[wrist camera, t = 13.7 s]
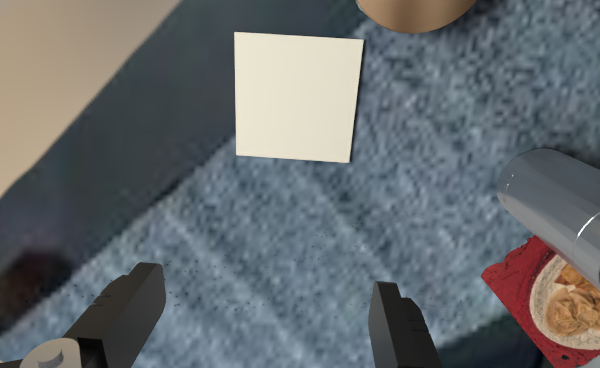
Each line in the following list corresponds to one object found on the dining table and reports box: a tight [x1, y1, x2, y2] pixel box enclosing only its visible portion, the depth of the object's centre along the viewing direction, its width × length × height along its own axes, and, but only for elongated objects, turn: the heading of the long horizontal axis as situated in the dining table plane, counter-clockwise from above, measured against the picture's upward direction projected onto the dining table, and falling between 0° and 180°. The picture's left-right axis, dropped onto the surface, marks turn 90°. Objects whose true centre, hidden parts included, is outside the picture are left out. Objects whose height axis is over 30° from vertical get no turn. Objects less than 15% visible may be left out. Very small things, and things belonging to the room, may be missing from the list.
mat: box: [235, 32, 363, 163], centre depth 42 cm, size 15×15×1 cm
